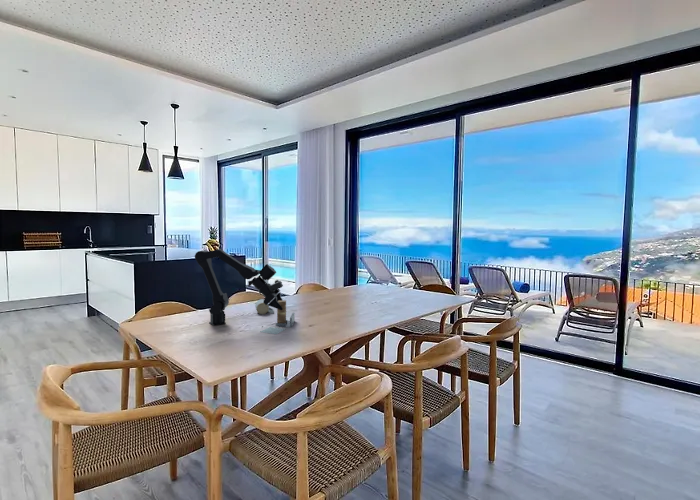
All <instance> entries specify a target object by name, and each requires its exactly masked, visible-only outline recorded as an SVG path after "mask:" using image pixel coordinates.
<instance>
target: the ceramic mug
mask: <svg viewBox="0 0 700 500" xmlns="http://www.w3.org/2000/svg"><path fill="white" fill-rule="evenodd" d="M264 299H265V298H264ZM264 299H263V298H261V299H258V300H257V301H256V302H255V311H256V312H257V313H258V314H259V315H265V314H267V313H269V314H274V312H275V309H273V307H271V306H268V304H269V303H268V304H267V305H265V304H264Z"/></svg>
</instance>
